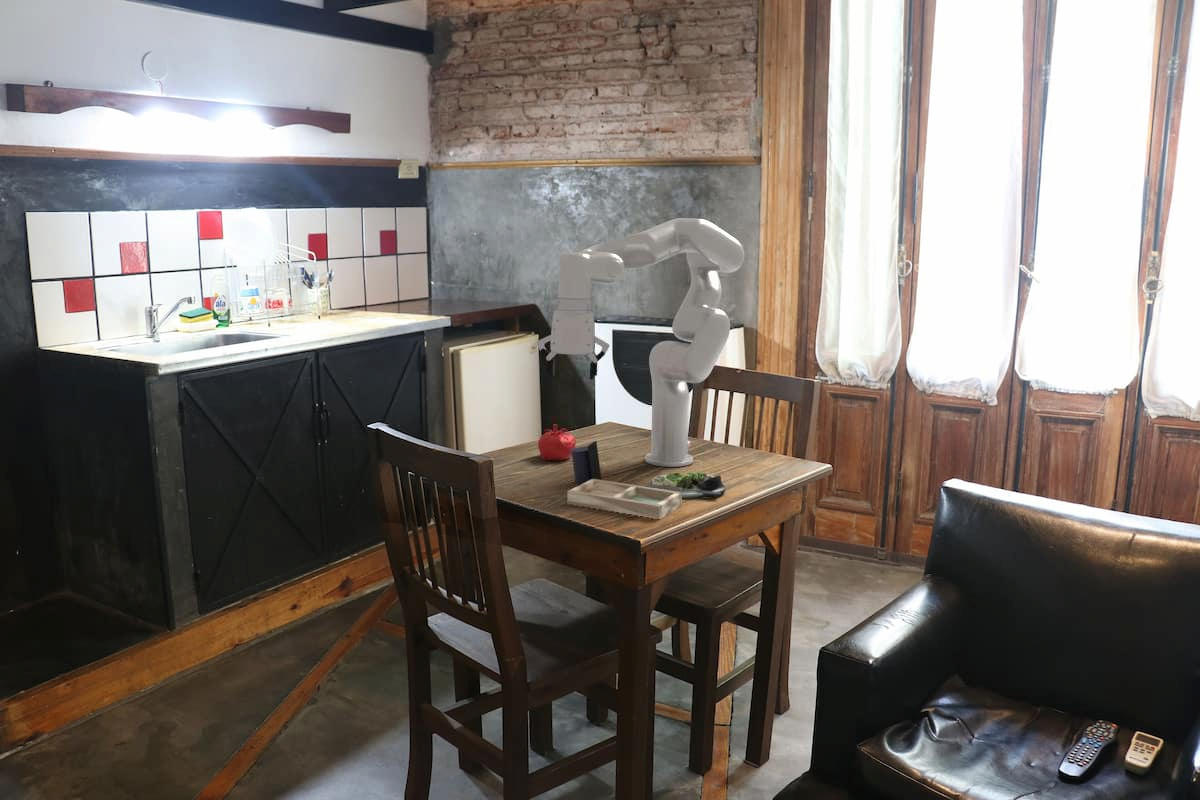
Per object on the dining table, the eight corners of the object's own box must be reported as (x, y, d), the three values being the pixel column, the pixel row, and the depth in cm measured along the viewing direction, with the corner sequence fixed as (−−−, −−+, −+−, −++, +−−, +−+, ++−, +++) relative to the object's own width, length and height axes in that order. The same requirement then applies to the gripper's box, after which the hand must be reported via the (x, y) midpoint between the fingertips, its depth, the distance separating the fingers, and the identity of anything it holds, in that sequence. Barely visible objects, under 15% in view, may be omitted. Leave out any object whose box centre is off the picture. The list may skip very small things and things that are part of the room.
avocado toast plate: (647, 502, 225) (648, 483, 224) (637, 481, 242) (637, 463, 241) (731, 501, 227) (732, 481, 226) (715, 480, 244) (715, 462, 243)
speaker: (609, 482, 239) (605, 440, 237) (594, 488, 234) (589, 445, 233) (585, 479, 244) (581, 438, 242) (570, 485, 239) (565, 443, 238)
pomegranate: (571, 464, 256) (572, 430, 254) (534, 462, 258) (534, 427, 256) (578, 454, 266) (579, 421, 264) (542, 452, 267) (542, 418, 265)
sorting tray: (592, 490, 232) (592, 478, 232) (681, 505, 222) (681, 492, 221) (567, 504, 222) (567, 491, 221) (659, 519, 212) (659, 506, 211)
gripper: (534, 305, 230) (533, 378, 233) (608, 308, 228) (606, 382, 231) (540, 302, 237) (539, 373, 240) (612, 305, 235) (610, 377, 238)
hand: (572, 377), depth 236 cm, fingers open, 9 cm apart
